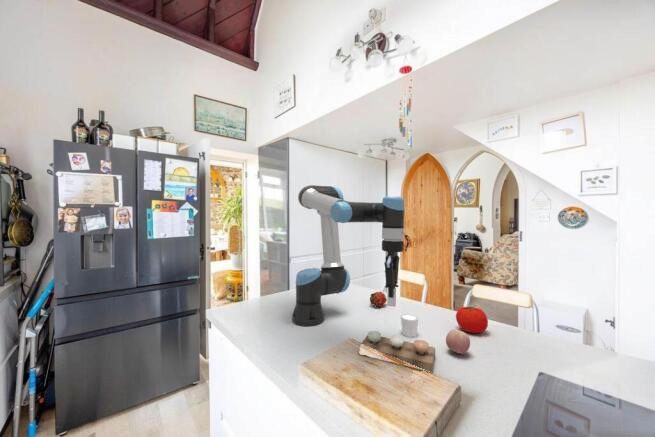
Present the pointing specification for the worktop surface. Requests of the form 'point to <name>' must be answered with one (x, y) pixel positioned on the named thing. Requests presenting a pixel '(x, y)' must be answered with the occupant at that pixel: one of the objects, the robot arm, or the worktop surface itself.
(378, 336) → the button sage
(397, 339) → the button ivory
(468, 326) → the tomato
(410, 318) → the white cylinder
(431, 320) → the worktop surface
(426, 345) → the button terracotta
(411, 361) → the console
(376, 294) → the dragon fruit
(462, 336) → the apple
